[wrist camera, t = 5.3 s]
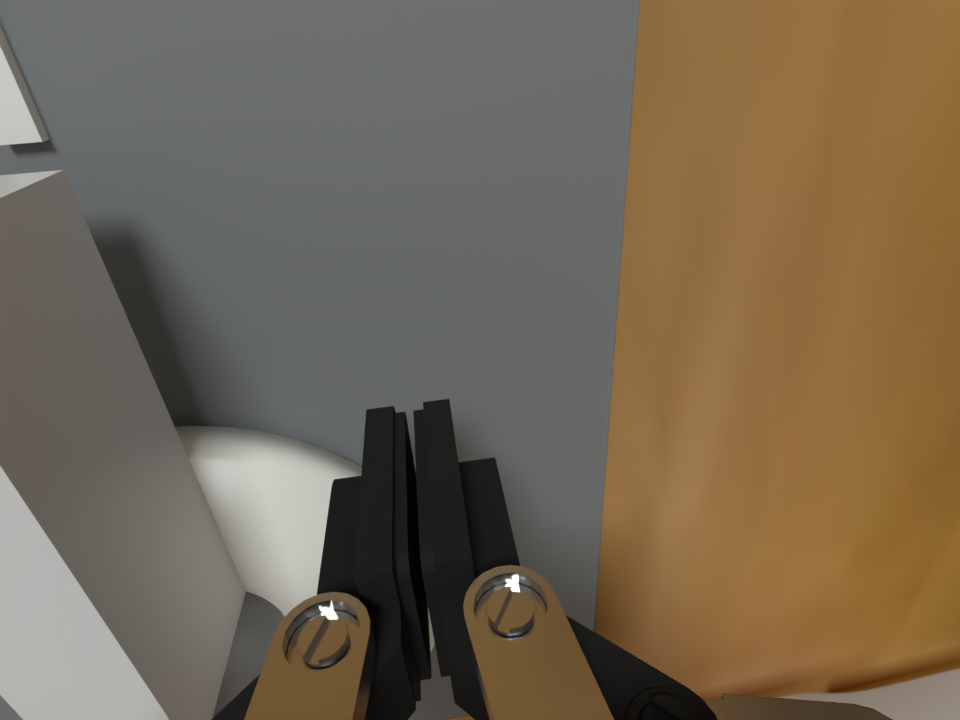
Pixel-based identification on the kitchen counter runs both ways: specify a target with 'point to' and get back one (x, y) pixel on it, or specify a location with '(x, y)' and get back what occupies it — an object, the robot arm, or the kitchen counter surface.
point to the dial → (129, 501)
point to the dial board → (357, 223)
